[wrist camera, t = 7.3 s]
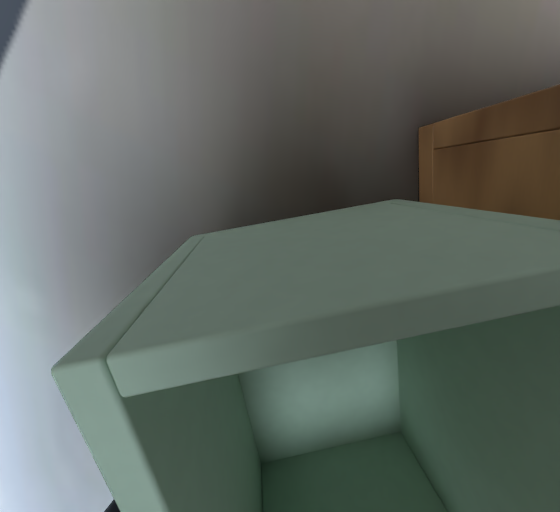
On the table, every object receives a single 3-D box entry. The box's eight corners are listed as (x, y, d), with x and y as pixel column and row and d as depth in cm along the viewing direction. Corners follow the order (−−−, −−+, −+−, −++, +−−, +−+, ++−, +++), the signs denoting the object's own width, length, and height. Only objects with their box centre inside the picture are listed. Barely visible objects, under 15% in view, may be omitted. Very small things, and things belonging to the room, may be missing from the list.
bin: (404, 424, 11) (565, 681, 5) (250, 460, 11) (250, 773, 5) (396, 198, 8) (698, 237, 3) (190, 235, 8) (44, 370, 2)
